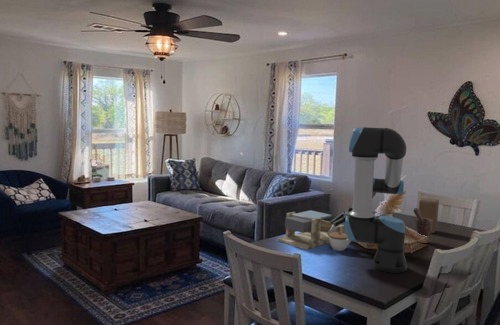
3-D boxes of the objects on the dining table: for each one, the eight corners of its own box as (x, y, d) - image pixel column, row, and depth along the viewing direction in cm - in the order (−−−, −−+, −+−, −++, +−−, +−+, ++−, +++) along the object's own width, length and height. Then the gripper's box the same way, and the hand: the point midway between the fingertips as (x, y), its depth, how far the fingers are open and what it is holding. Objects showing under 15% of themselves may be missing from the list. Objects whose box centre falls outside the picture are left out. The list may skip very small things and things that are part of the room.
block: (416, 231, 256) (418, 199, 254) (420, 228, 265) (422, 197, 263) (433, 234, 251) (436, 202, 249) (436, 230, 259) (439, 199, 257)
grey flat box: (305, 233, 215) (305, 220, 215) (283, 227, 227) (283, 215, 226) (331, 226, 231) (332, 214, 231) (310, 221, 243) (310, 209, 242)
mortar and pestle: (423, 246, 225) (426, 210, 223) (409, 242, 232) (411, 207, 230) (433, 242, 233) (436, 208, 231) (418, 238, 239) (421, 205, 237)
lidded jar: (332, 244, 224) (333, 227, 223) (351, 248, 219) (352, 231, 218) (325, 249, 215) (326, 232, 214) (345, 253, 209) (346, 235, 208)
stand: (305, 249, 214) (307, 221, 212) (278, 240, 228) (278, 214, 227) (344, 238, 237) (345, 212, 236) (316, 230, 252) (317, 206, 250)
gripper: (380, 216, 215) (359, 248, 208) (343, 207, 235) (324, 236, 228) (374, 207, 211) (353, 240, 204) (337, 199, 231) (317, 228, 224)
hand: (337, 238), depth 216 cm, fingers open, 13 cm apart
